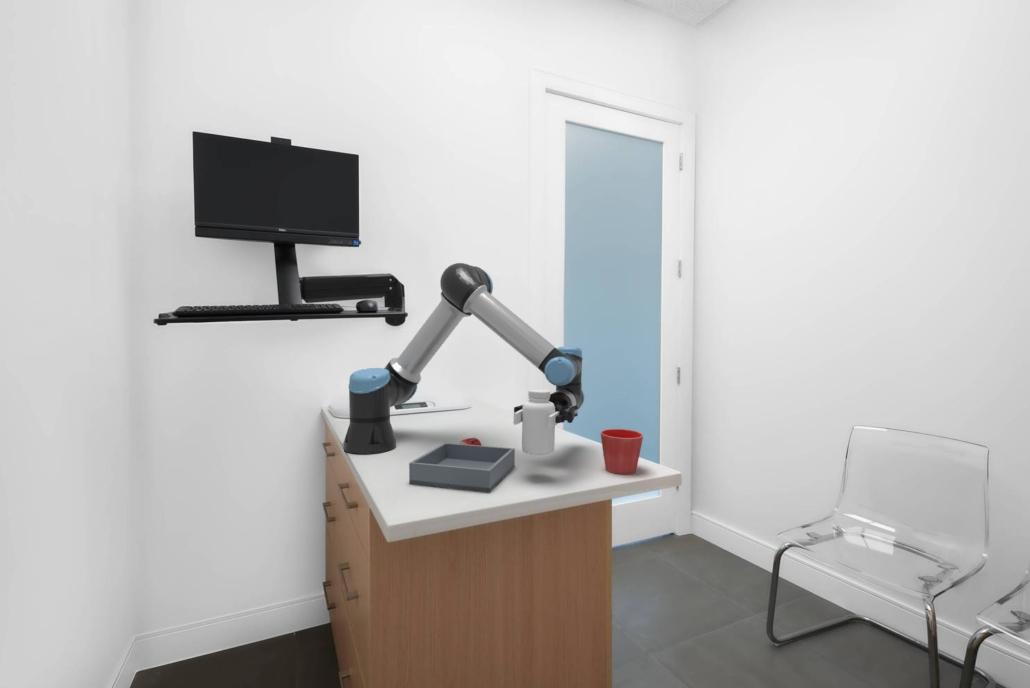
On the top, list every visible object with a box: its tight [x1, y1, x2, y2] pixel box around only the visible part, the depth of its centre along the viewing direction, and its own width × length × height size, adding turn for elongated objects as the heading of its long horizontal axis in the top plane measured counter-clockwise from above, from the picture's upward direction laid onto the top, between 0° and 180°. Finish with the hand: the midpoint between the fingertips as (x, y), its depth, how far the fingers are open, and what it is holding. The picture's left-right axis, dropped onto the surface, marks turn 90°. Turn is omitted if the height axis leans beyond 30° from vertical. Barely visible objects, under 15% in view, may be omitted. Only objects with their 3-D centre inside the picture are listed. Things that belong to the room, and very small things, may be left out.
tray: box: [408, 442, 516, 494], centre depth 124 cm, size 20×20×5 cm
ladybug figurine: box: [457, 437, 483, 446], centre depth 147 cm, size 7×10×4 cm
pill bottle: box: [521, 388, 556, 456], centre depth 121 cm, size 8×8×15 cm
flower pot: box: [600, 428, 644, 475], centre depth 129 cm, size 11×11×10 cm
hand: (532, 420), depth 116 cm, fingers closed on pill bottle, 8 cm apart
